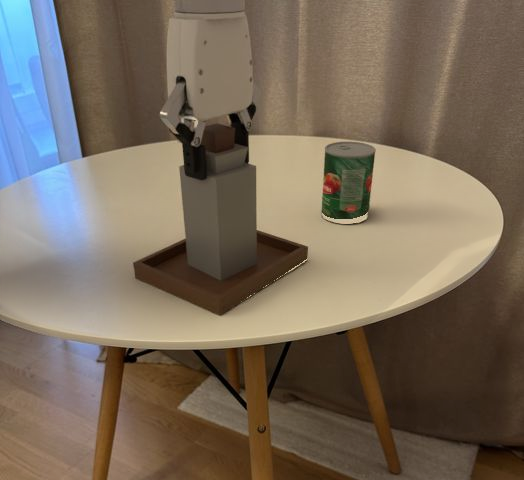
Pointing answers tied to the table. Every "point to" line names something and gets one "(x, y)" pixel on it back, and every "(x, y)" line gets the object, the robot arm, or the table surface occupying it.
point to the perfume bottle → (221, 207)
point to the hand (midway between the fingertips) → (217, 168)
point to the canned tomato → (347, 179)
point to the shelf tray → (209, 288)
